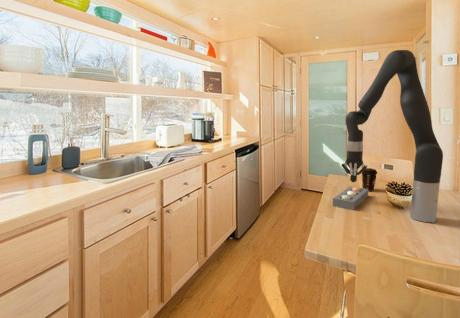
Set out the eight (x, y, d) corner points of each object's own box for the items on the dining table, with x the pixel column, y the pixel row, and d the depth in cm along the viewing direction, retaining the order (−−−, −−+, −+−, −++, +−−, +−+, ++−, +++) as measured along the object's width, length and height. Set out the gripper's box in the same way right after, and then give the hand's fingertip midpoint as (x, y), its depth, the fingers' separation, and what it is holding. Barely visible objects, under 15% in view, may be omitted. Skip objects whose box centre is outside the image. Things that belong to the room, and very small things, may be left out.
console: (368, 196, 151) (368, 189, 150) (353, 210, 130) (353, 202, 129) (349, 193, 158) (349, 186, 157) (332, 205, 137) (333, 198, 136)
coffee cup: (372, 188, 166) (374, 167, 164) (378, 192, 158) (380, 170, 156) (358, 188, 167) (359, 167, 165) (363, 191, 159) (364, 170, 157)
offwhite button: (357, 196, 144) (357, 191, 143) (354, 198, 140) (354, 193, 140) (348, 195, 147) (348, 190, 146) (345, 197, 143) (346, 192, 143)
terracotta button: (361, 192, 150) (361, 188, 150) (359, 194, 147) (359, 190, 147) (353, 191, 153) (353, 186, 153) (351, 193, 150) (351, 188, 150)
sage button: (352, 200, 137) (352, 196, 137) (349, 203, 134) (349, 198, 133) (343, 199, 140) (343, 194, 139) (340, 201, 136) (340, 196, 136)
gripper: (370, 149, 138) (368, 182, 141) (344, 148, 147) (342, 179, 149) (366, 151, 132) (364, 185, 135) (339, 149, 141) (338, 181, 144)
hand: (353, 181), depth 142 cm, fingers closed
